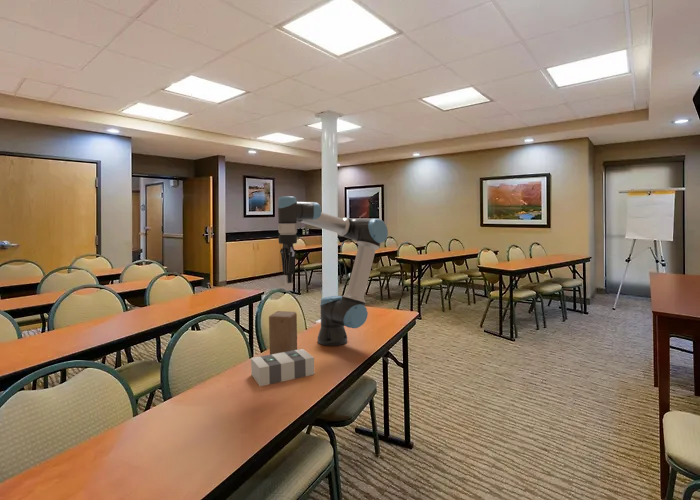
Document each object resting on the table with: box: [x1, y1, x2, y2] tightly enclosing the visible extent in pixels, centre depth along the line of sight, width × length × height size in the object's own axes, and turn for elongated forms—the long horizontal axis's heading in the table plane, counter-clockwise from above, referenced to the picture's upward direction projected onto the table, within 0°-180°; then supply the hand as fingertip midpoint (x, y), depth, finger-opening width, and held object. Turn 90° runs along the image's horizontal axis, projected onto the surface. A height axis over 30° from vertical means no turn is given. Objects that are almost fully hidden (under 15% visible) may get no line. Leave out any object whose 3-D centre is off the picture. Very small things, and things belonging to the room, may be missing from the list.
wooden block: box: [268, 310, 298, 355], centre depth 173 cm, size 10×10×20 cm
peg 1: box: [265, 357, 276, 363], centre depth 151 cm, size 4×4×7 cm
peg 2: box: [289, 353, 299, 358], centre depth 156 cm, size 4×4×7 cm
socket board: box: [250, 348, 315, 387], centre depth 153 cm, size 22×12×7 cm, turn 119°
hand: (288, 290), depth 161 cm, fingers closed
